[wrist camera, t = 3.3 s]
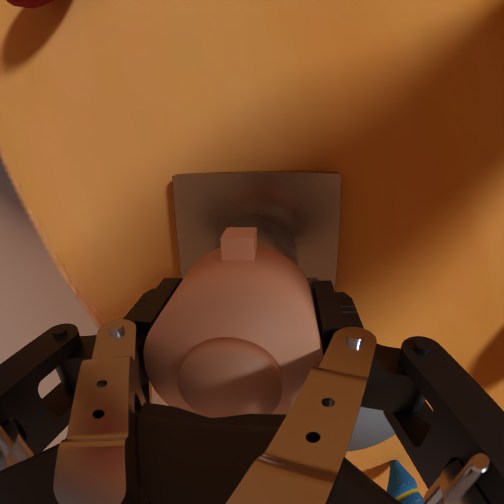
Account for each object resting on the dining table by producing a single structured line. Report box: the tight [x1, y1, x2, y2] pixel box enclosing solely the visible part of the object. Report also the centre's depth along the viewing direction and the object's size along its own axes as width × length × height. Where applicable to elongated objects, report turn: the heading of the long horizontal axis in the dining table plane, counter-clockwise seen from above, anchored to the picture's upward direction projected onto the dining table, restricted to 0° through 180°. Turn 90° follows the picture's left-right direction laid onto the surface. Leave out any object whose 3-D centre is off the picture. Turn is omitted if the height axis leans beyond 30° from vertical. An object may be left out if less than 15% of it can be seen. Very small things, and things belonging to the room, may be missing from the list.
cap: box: [143, 227, 324, 418], centre depth 10 cm, size 5×7×5 cm
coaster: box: [347, 407, 395, 451], centre depth 22 cm, size 10×10×1 cm
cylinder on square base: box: [172, 171, 341, 290], centre depth 16 cm, size 9×9×7 cm
